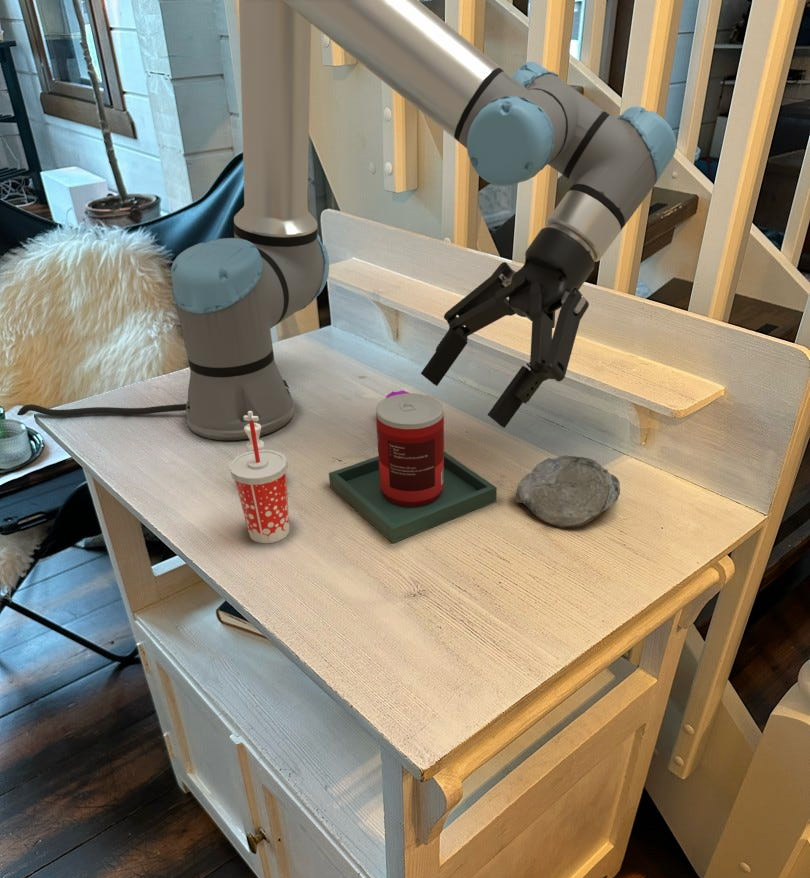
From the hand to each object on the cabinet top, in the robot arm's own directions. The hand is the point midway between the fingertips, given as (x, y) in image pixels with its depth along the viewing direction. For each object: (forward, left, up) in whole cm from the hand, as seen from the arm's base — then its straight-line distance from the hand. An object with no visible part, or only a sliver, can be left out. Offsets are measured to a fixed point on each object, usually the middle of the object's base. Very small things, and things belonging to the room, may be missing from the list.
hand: (460, 399), depth 89 cm
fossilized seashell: (+14, 0, -11) cm, 18 cm away
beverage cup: (-15, -20, -11) cm, 27 cm away
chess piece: (-22, -12, -11) cm, 27 cm away
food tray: (-4, -6, -10) cm, 13 cm away
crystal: (-14, +10, -11) cm, 20 cm away
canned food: (-3, -6, -10) cm, 12 cm away
